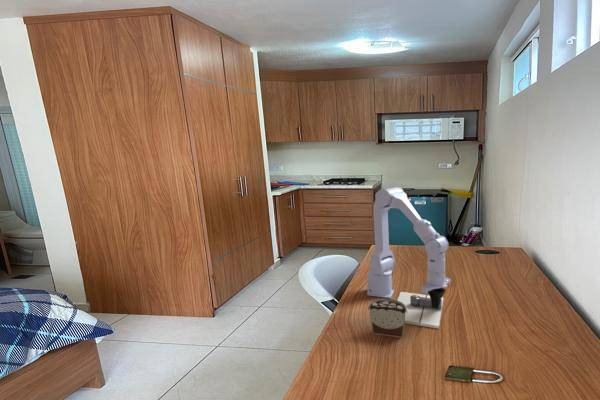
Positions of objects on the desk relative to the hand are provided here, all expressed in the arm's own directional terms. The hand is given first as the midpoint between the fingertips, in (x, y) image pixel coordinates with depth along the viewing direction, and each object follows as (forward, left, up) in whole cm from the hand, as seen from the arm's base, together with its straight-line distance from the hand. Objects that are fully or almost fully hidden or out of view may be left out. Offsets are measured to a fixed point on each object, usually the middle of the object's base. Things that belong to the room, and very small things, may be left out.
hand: (435, 307), depth 129 cm
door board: (-6, +1, -2) cm, 6 cm away
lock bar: (-4, +2, -1) cm, 4 cm away
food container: (-13, -18, -2) cm, 23 cm away
